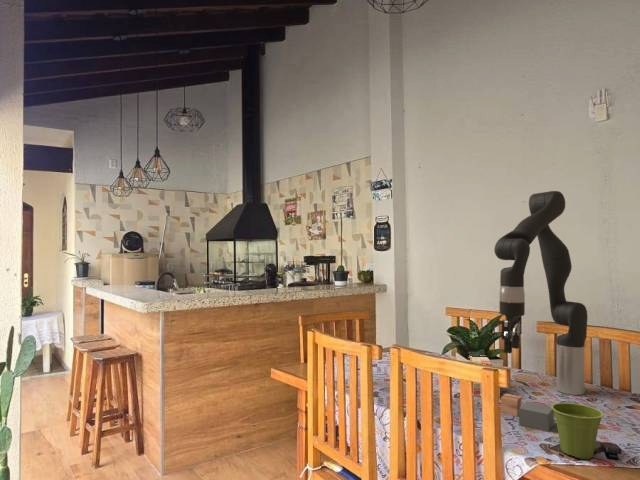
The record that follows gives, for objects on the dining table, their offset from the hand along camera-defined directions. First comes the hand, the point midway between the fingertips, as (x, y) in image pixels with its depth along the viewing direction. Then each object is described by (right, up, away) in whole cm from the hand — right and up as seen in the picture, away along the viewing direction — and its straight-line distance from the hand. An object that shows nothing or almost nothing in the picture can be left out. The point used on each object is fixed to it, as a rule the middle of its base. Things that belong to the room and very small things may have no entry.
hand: (511, 350), depth 150 cm
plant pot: (+4, -20, -30) cm, 36 cm away
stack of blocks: (-2, -21, +25) cm, 33 cm away
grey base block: (+3, -20, -10) cm, 23 cm away
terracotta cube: (0, -20, 0) cm, 20 cm away
